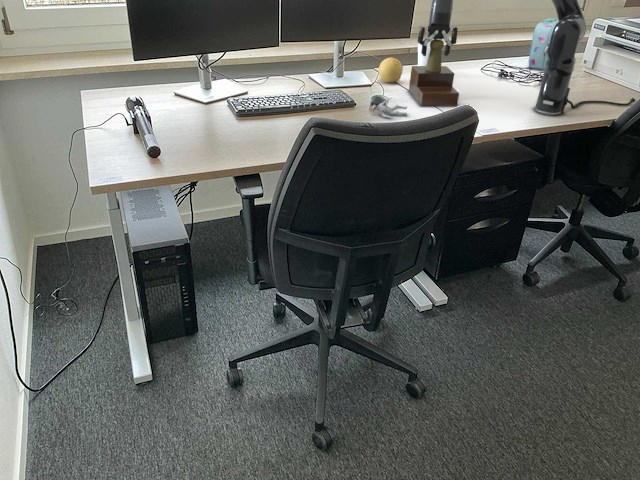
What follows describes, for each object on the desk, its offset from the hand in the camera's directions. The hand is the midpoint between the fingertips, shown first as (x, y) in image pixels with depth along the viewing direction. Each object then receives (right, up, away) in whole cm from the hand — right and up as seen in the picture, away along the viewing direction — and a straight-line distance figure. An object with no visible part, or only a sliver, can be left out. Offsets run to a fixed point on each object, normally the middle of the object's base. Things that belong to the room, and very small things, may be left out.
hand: (434, 55), depth 205 cm
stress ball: (-15, -4, +22) cm, 26 cm away
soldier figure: (-19, -26, -12) cm, 34 cm away
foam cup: (+2, +2, +31) cm, 31 cm away
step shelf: (0, -15, +5) cm, 16 cm away
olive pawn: (0, -5, +3) cm, 6 cm away
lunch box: (+62, +13, +52) cm, 82 cm away
